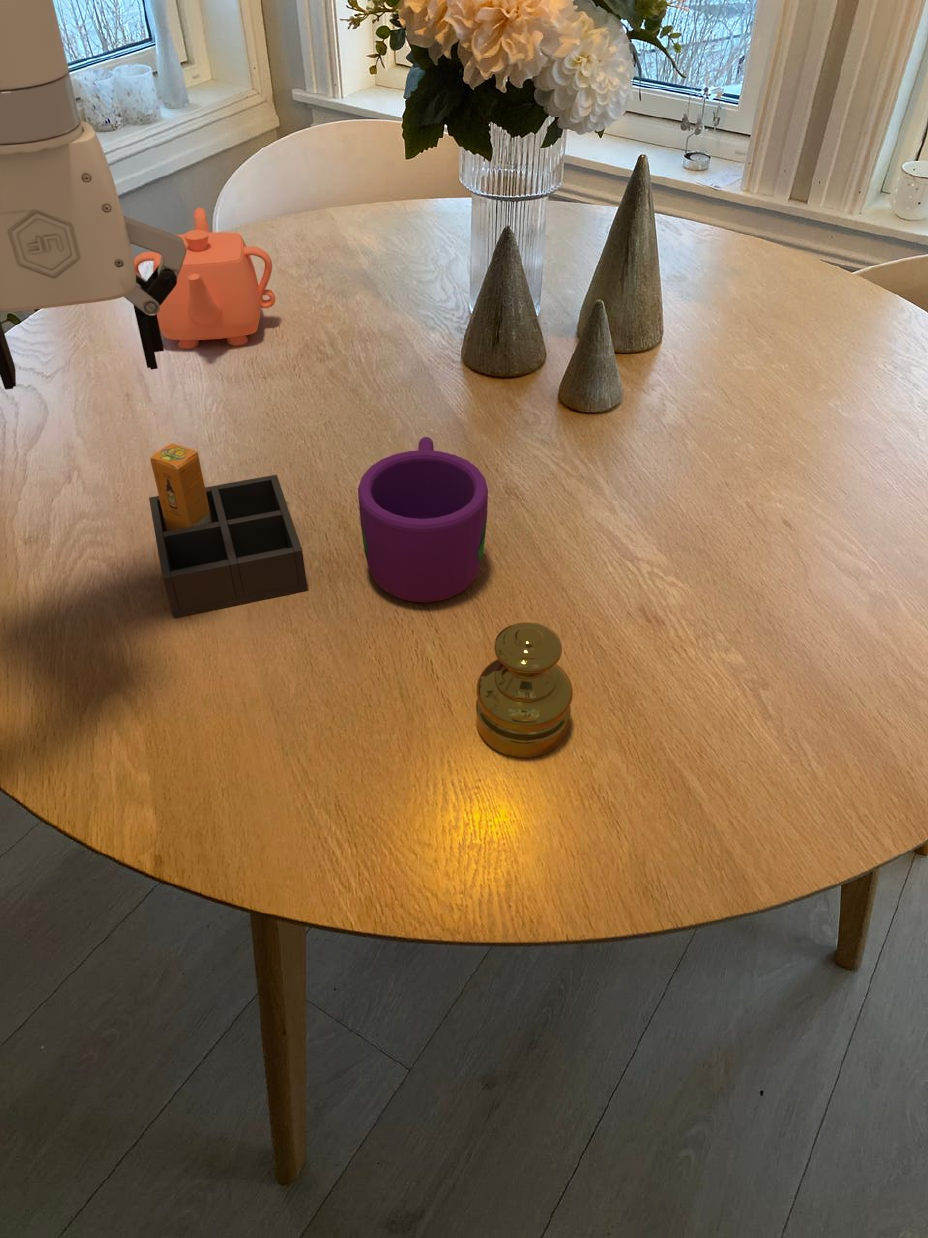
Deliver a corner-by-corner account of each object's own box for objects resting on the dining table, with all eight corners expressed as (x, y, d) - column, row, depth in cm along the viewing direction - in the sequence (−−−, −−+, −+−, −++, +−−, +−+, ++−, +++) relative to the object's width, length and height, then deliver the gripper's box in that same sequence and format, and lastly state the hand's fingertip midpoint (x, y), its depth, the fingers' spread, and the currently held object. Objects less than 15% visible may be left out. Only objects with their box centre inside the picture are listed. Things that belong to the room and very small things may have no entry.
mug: (486, 613, 86) (489, 525, 79) (359, 612, 86) (351, 524, 79) (483, 497, 99) (485, 412, 92) (372, 496, 98) (366, 411, 92)
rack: (173, 618, 85) (162, 578, 82) (159, 536, 93) (148, 497, 90) (307, 590, 88) (302, 550, 85) (282, 513, 96) (276, 474, 93)
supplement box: (219, 538, 92) (200, 450, 85) (196, 558, 89) (174, 469, 83) (192, 527, 93) (171, 439, 86) (168, 547, 91) (145, 459, 84)
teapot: (210, 373, 116) (191, 272, 107) (124, 331, 123) (100, 233, 114) (299, 329, 124) (288, 231, 116) (214, 292, 132) (198, 197, 123)
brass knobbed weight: (579, 751, 75) (593, 663, 68) (487, 767, 74) (491, 679, 67) (553, 683, 80) (563, 594, 73) (466, 696, 79) (468, 608, 72)
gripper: (-158, 139, 52) (-51, 415, 64) (167, 116, 57) (212, 377, 68) (-144, 101, 57) (-47, 362, 69) (153, 82, 62) (197, 331, 73)
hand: (82, 370), depth 69 cm, fingers open, 9 cm apart
